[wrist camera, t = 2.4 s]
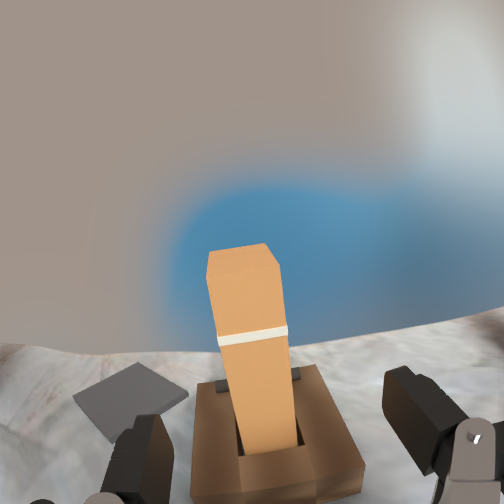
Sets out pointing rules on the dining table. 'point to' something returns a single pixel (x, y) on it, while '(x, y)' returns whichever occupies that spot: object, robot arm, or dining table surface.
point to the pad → (127, 399)
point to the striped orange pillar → (254, 345)
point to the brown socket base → (276, 462)
